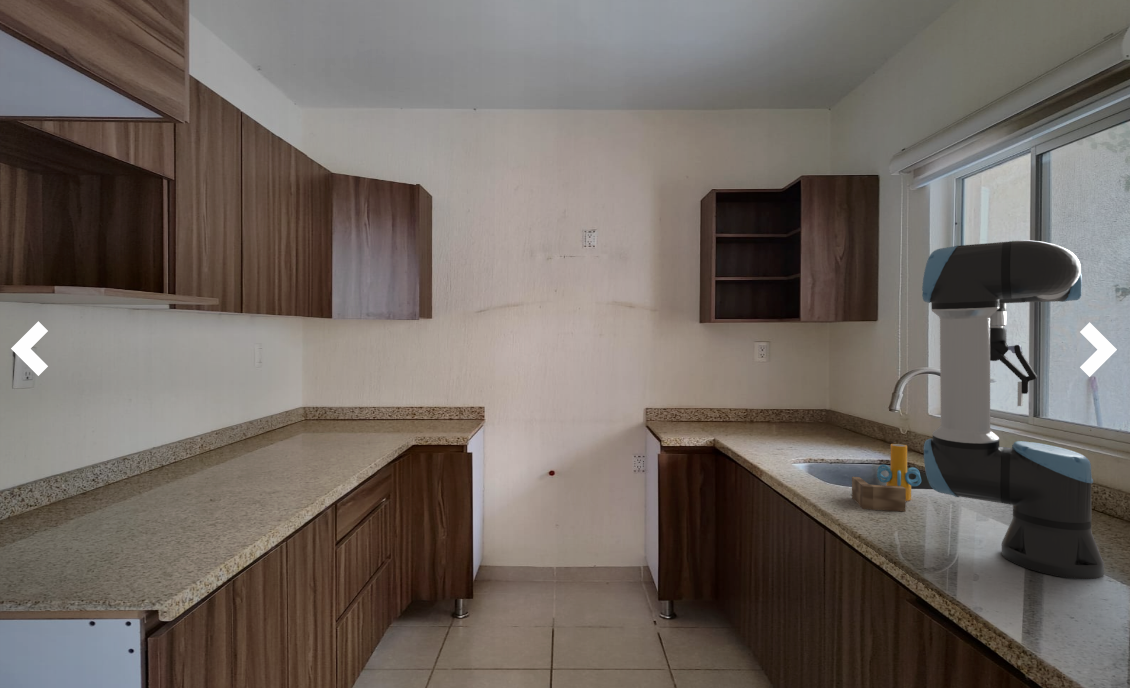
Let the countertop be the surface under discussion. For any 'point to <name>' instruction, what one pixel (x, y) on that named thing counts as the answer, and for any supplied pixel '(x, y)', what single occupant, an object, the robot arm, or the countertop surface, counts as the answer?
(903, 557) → the countertop surface
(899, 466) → the yellow and blue tube
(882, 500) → the v block
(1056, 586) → the countertop surface
